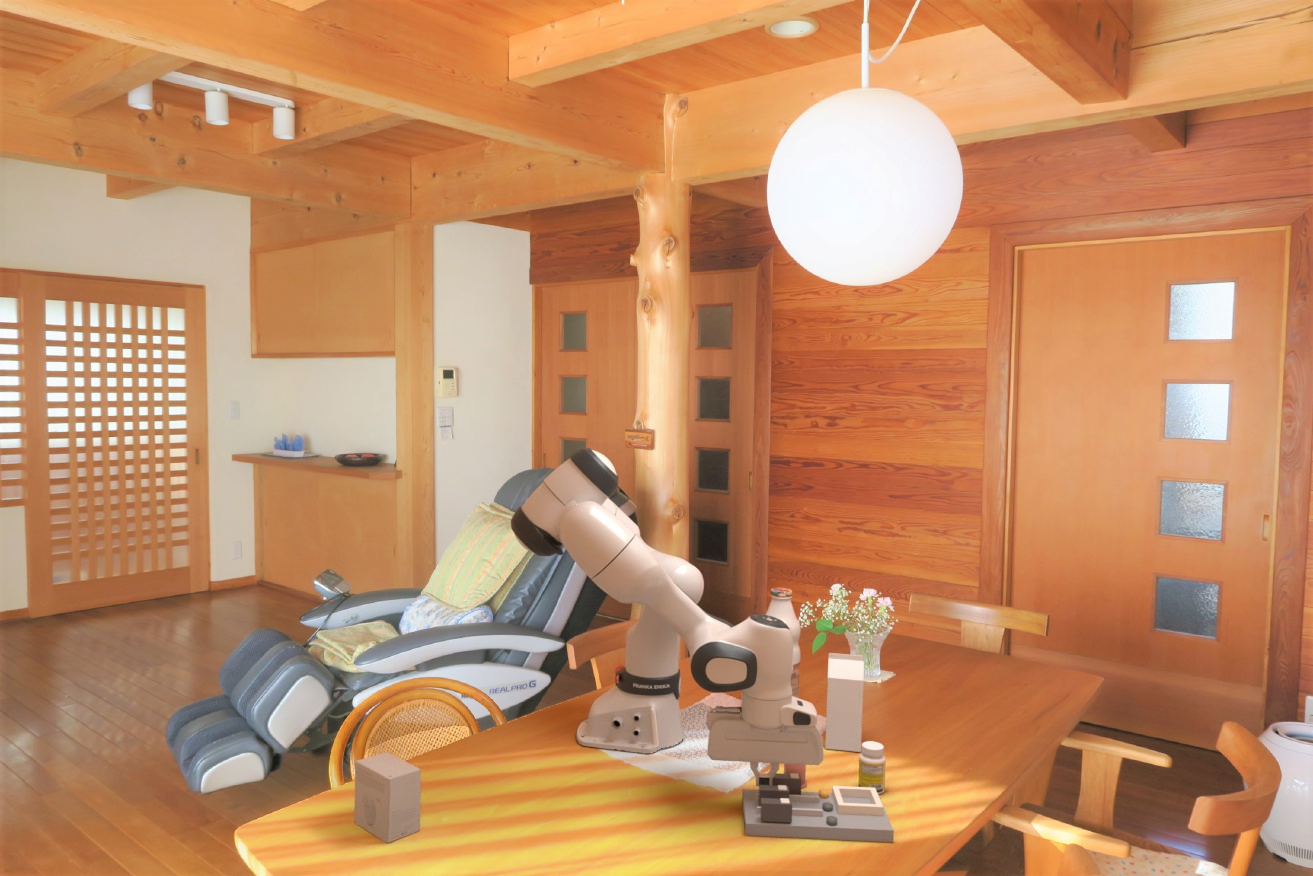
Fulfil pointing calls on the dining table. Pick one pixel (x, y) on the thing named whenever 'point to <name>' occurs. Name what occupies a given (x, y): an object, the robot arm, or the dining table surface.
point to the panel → (824, 816)
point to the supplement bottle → (872, 766)
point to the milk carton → (844, 702)
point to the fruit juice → (785, 612)
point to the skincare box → (387, 796)
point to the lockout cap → (797, 772)
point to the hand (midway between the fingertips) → (763, 785)
